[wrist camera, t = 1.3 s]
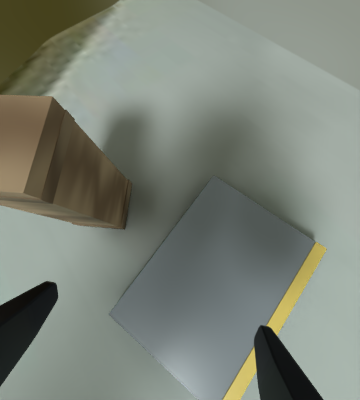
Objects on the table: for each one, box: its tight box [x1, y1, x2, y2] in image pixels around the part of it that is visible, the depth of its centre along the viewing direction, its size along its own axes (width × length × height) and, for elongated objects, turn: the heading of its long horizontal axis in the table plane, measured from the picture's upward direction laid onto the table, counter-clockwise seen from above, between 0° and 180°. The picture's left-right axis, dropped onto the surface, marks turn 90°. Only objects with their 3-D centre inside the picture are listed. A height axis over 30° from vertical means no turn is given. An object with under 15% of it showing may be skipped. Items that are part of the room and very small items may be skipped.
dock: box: [109, 175, 327, 400], centre depth 18 cm, size 16×12×2 cm
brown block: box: [0, 95, 132, 229], centre depth 16 cm, size 5×5×13 cm
